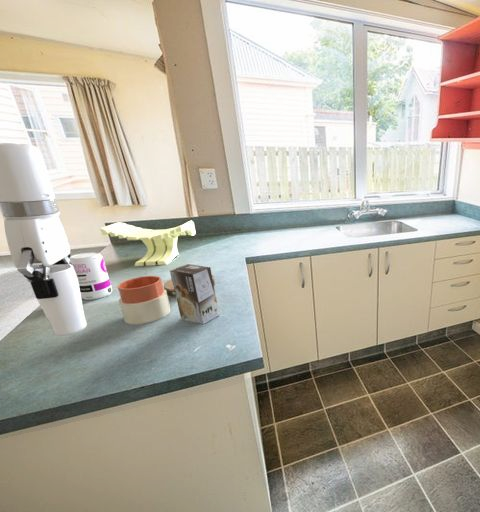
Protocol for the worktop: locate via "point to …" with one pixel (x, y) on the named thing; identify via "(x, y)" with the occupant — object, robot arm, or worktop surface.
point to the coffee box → (195, 293)
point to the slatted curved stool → (152, 240)
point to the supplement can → (91, 275)
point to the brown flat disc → (170, 289)
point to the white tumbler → (64, 302)
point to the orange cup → (140, 289)
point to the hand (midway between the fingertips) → (57, 289)
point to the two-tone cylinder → (145, 310)
